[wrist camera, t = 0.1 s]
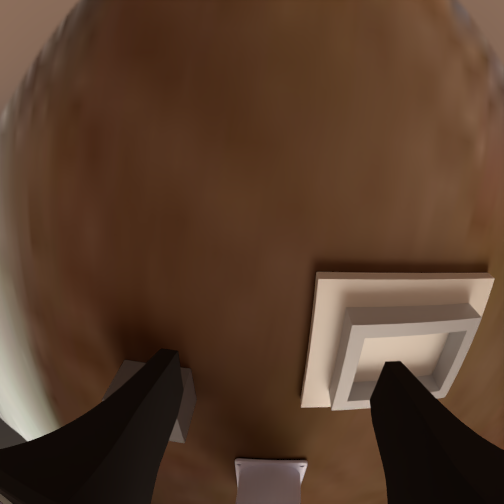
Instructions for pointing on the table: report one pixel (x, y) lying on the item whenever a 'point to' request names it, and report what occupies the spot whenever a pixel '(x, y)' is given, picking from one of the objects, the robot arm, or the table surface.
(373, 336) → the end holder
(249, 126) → the table surface
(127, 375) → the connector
